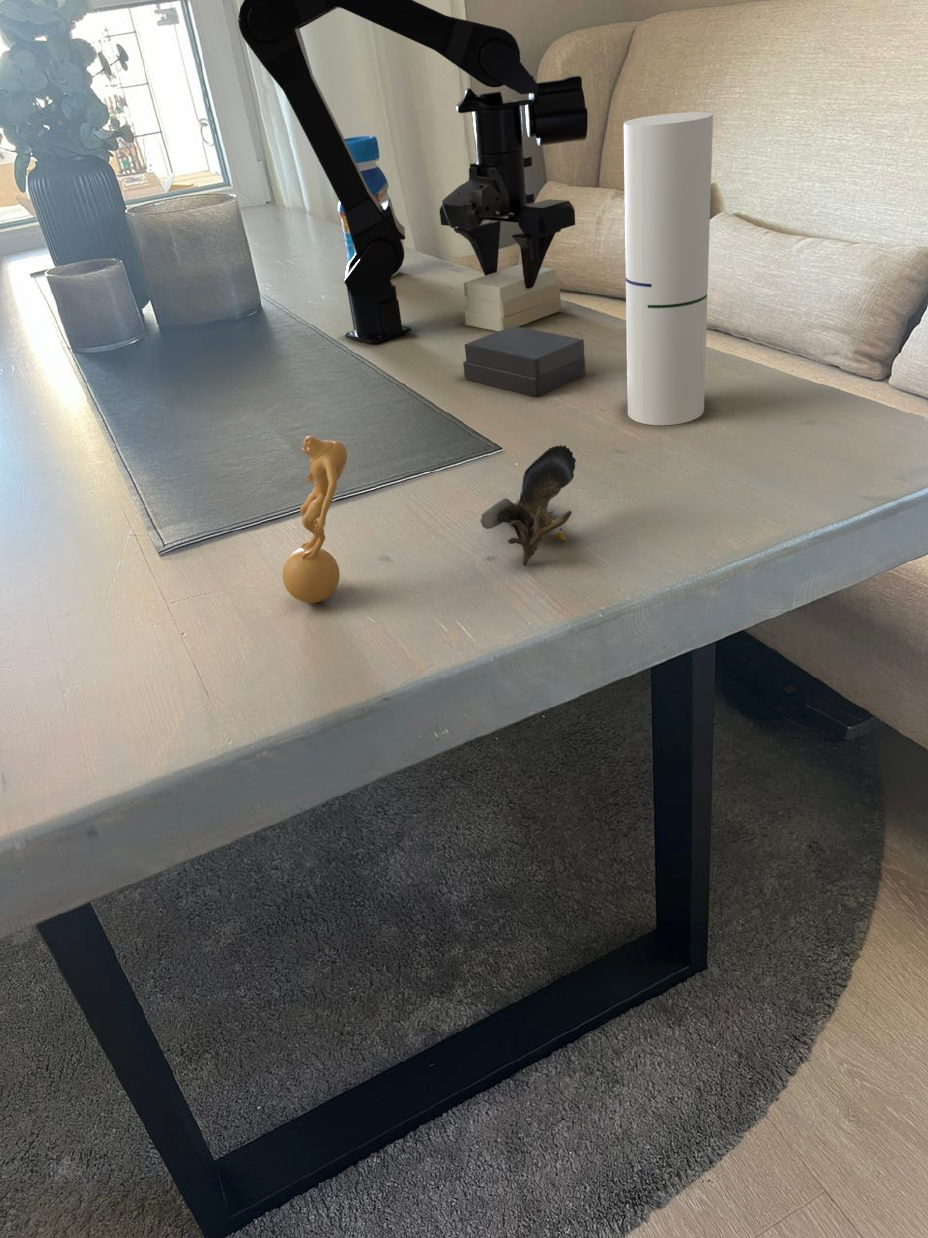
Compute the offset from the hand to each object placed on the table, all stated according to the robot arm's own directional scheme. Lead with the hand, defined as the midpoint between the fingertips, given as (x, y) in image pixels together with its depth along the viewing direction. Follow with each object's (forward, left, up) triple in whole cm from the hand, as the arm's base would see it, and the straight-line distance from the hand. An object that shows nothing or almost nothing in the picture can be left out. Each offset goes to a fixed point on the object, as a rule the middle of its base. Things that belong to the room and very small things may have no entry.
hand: (510, 284), depth 121 cm
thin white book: (0, 0, -1) cm, 1 cm away
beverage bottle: (-39, +7, -4) cm, 40 cm away
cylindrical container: (+37, -16, -4) cm, 41 cm away
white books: (0, 0, -4) cm, 4 cm away
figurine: (+39, -57, -4) cm, 69 cm away
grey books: (+18, -16, -4) cm, 24 cm away
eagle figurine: (+45, -42, -4) cm, 62 cm away
